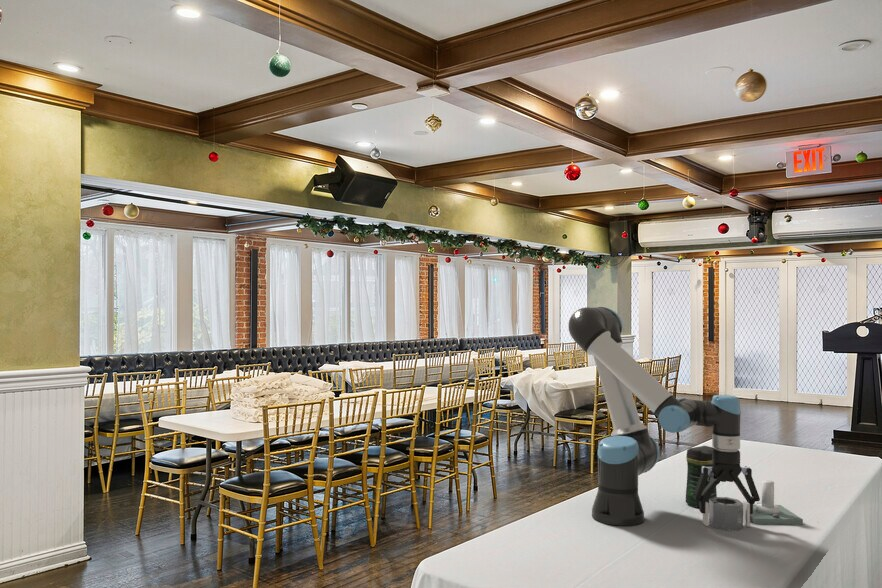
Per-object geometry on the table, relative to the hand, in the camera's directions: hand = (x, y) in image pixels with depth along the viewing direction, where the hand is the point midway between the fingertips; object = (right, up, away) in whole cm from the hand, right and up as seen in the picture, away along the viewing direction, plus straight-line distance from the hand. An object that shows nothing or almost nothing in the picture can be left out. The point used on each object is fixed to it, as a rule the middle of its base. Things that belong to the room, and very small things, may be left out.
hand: (726, 524), depth 197 cm
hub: (0, 0, 0) cm, 0 cm away
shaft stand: (+16, 0, +9) cm, 18 cm away
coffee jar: (+1, -1, +20) cm, 20 cm away
